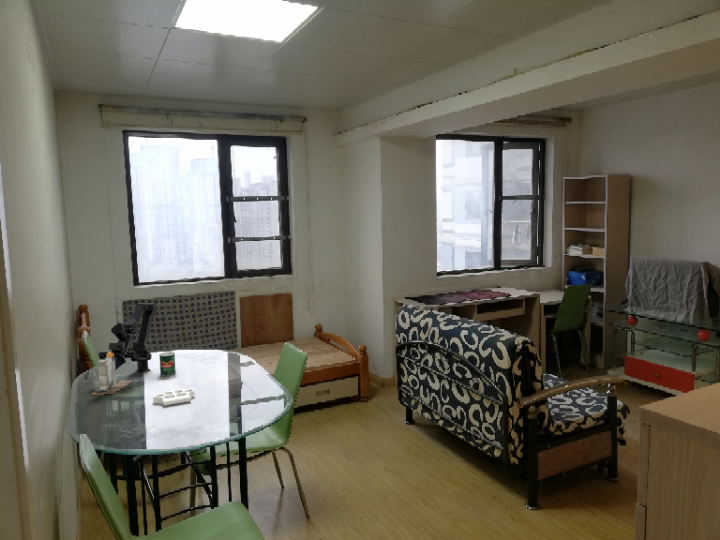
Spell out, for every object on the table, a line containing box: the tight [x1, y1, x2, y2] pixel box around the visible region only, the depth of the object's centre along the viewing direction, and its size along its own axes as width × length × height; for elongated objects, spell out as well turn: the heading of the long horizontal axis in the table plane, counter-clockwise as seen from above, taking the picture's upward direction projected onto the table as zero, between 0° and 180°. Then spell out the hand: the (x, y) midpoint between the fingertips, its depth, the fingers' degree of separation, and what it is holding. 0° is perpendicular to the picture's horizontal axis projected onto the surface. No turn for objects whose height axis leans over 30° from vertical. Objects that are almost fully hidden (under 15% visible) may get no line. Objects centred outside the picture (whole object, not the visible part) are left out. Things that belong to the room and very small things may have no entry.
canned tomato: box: [158, 351, 177, 377], centre depth 284 cm, size 8×8×11 cm
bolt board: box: [91, 359, 134, 396], centre depth 260 cm, size 20×10×16 cm, turn 177°
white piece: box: [152, 388, 195, 407], centre depth 240 cm, size 3×18×15 cm
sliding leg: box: [106, 351, 117, 386], centre depth 259 cm, size 4×6×17 cm
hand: (113, 371), depth 261 cm, fingers closed, pressing on sliding leg
